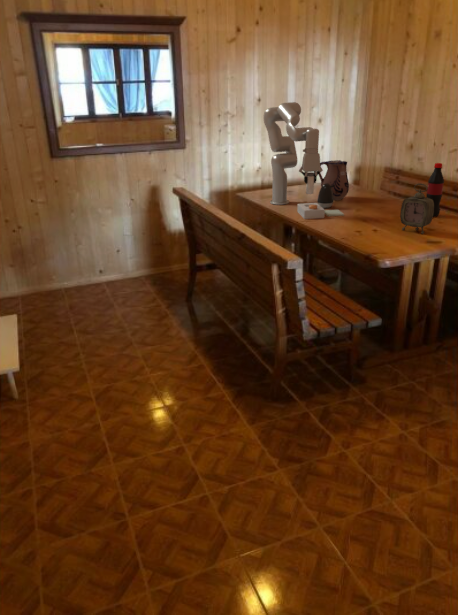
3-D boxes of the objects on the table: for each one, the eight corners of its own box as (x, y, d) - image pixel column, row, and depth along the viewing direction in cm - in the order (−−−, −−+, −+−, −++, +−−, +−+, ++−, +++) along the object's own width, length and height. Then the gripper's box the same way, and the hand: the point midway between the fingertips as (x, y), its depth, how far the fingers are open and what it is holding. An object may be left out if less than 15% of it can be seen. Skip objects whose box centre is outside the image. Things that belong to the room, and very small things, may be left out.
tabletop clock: (398, 230, 269) (403, 183, 259) (406, 227, 275) (412, 180, 264) (424, 235, 259) (431, 186, 249) (432, 231, 265) (439, 183, 255)
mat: (322, 211, 311) (322, 210, 311) (338, 210, 312) (338, 209, 312) (327, 216, 300) (327, 215, 300) (344, 215, 301) (344, 214, 301)
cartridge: (305, 192, 305) (306, 172, 300) (312, 192, 305) (313, 172, 300) (307, 194, 301) (307, 173, 296) (314, 193, 301) (315, 173, 296)
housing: (297, 211, 313) (297, 203, 311) (316, 210, 314) (316, 202, 312) (304, 218, 296) (304, 210, 294) (324, 217, 297) (324, 209, 295)
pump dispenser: (333, 209, 316) (334, 184, 310) (316, 209, 318) (317, 184, 312) (333, 205, 325) (335, 181, 319) (317, 205, 327) (318, 181, 321)
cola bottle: (438, 214, 298) (446, 162, 285) (439, 217, 290) (447, 164, 278) (423, 213, 300) (430, 161, 288) (423, 217, 293) (430, 164, 281)
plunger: (307, 214, 302) (307, 204, 300) (315, 214, 303) (316, 204, 300) (309, 216, 298) (309, 206, 295) (317, 216, 298) (318, 206, 296)
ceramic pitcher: (350, 201, 334) (353, 162, 324) (318, 202, 335) (320, 163, 325) (345, 196, 350) (347, 159, 340) (314, 196, 351) (316, 159, 341)
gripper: (298, 152, 289) (297, 184, 296) (327, 151, 290) (325, 183, 298) (295, 150, 295) (294, 182, 303) (324, 149, 297) (322, 181, 305)
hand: (310, 182), depth 300 cm, fingers closed on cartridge, 4 cm apart
